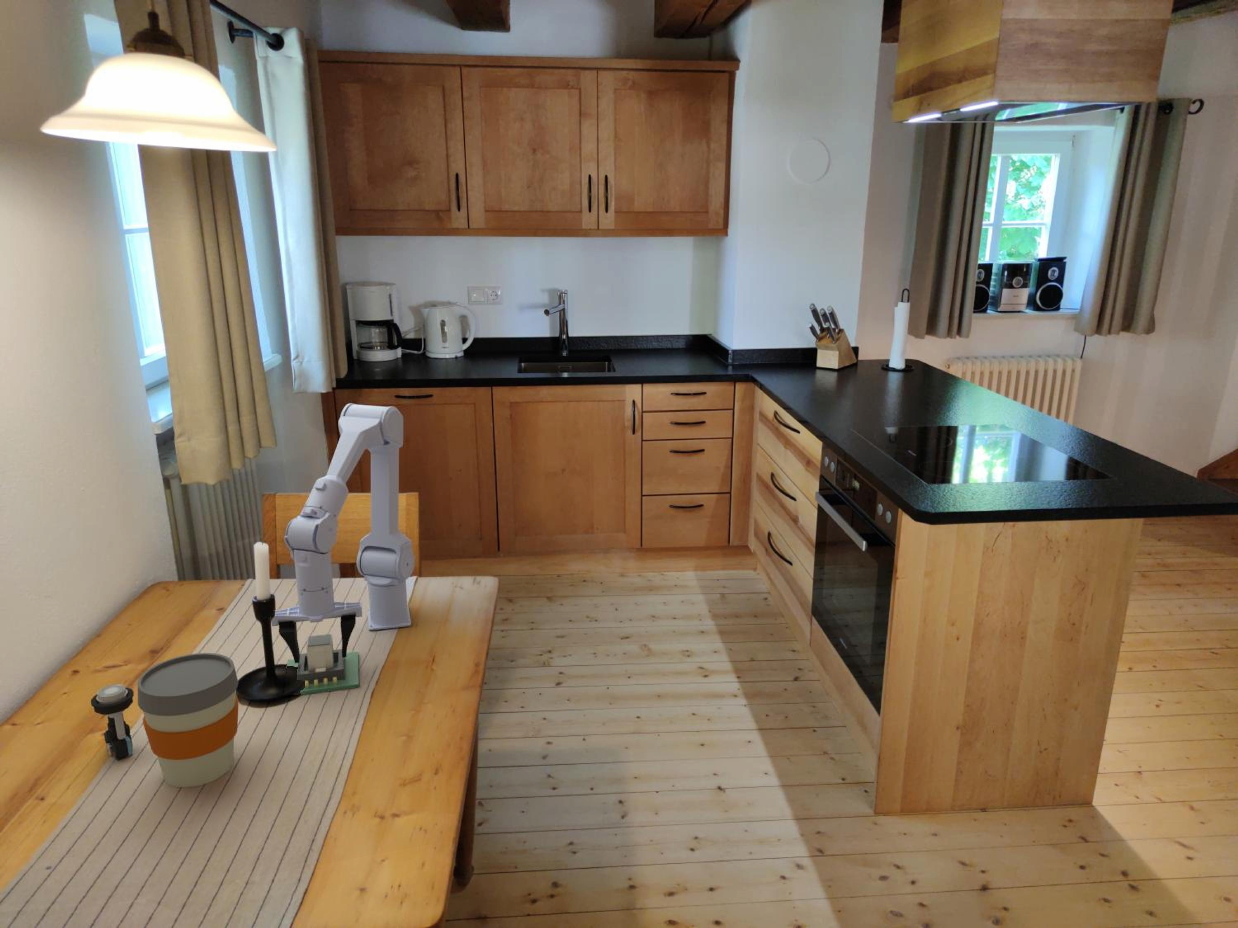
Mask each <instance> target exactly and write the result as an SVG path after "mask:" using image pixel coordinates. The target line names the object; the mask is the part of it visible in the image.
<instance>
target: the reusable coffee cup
mask: <svg viewBox="0 0 1238 928" xmlns="http://www.w3.org/2000/svg"><path fill="white" fill-rule="evenodd" d="M238 685H239V679H238V675H237V672H236V667H235V663H234V660H232V659H231V658H230V657H228V656H227V655H223V654H220V653H216V652H215V653H213V652H211V653H210V652H201V653H200V652H199V653H189V654H185V655H179V656H176V657H173V658H169V659H167V660H163V661H160V662H159V663H157V664H154V665H153V666H152V667H150V668H148V669H147V670H146V671H144V672H143V673H142V674H141V675H140V677H139V678H138V680H137V706H138V707H139V709H140V710H142V712H143V713H142V714H143V718H142V724H143V728H144V731H145V734H146V737H147V739H148V743H149V747H150V749H151V752H152V754H154V755H155V756H156V757H157V760H158V763H159V767H160V770H161V772H162V774H163V778H164V780H165V782H166V783H167V784H168V785H170V786H173V787H177V788H193V787H199V786H203V785H206V784H208V783H211V782H213V781H216V780H218V779H220V778H221V777H222V776H224V775H225V774H226V773H228V772H229V771H230V769H231V768H232V766H233V763H234V753H235V752H234V749H235V747H234V745H235V736H236V734H237V733H238V725H239V722H238V721H239V698H238V696H237V695H236V691H237V688H238Z"/></svg>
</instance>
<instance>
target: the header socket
mask: <svg viewBox="0 0 1238 928" xmlns="http://www.w3.org/2000/svg"><path fill="white" fill-rule="evenodd" d="M333 654H334V668H326V667H325V668H317V669H316V670H310V671H308V659H307V652H306V653H305V652H303V653H300V661H299V663H295V661H294V658H293V659H288V660H287V665H286V667H287V666H294V667H298V669H297V680H302V681H305V688H304V689H303V690H301V691H300V693H301V695H300V696H303V695H310V694H311V695H312V694H319V693H327V692H334V691H342V690H350V689H356V688H359V687H360V686H359V685H360V684H359V681H360V679H359V677H360V675H359V652H358V651H353V652H347V656H346V657H344V658H342V648H337V649H333Z"/></svg>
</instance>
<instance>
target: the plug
mask: <svg viewBox="0 0 1238 928" xmlns="http://www.w3.org/2000/svg"><path fill="white" fill-rule="evenodd" d="M305 649H306V653H307V659H308V671H310V670H316V669H317V668H325V667H326V668H334V654H333V650H334V643H333V634H331V633H327V634H320V635H310V636H307V641H306V648H305Z"/></svg>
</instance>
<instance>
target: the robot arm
mask: <svg viewBox="0 0 1238 928" xmlns="http://www.w3.org/2000/svg"><path fill="white" fill-rule="evenodd" d="M337 425H338V432H339V435H340V437H339V440H338V443H337V445H336V448H335V450H334V454H333V456H332V459H331V461H330V464H329V467H328V470H327V471H326V475H325V476H323V477H319V478H318V479H316V481H315V482H314V485H313V487H312V489H311V492H310V494H309V496H308V498H307V500H306V501H305V504H304V506H303V507H302V510H301V512H300V514H299V515H297V516H296V517H295V518H292V519H291V520H289V522H288V524H287V525H286V526H287V527H286V529H285V536H284V537H283V539H284V544H285V546H286V547H287V548H288V550H289V553H290V558H291V559H292V560H293V561H294V569H295V580H296V589H297V591H296V592H297V600H298V601H297V602H298V605H296V606H292V607H287V608H284V609H279V610H274V611H275V617H274V618H273V619H272V621H271V620H270V621H271V622H270V623H271V627H277V626H278V633H279V635H280V637H281V638H282V639H283V641H284V642H285V643H286V645H287V646H288V648H289V650H290V653H291V656H292V658H293V659H294V661H295V663H299V661H300V654H301V653H300V647H299V646H300V645H299V642H298V641H299V640H298V628H297V623H300V622H301V623H302V622H309V623H311V624H312V623H321V622H323V621H324V620H329V619H338V618H340V623H339V624H340V632H341V633H340V634H341V649H342V658H344V657H346V656H347V653H348V652H347V650H348V645H349V642H350V638H351V636H352V633H353V631H354V629H355V626H356V624H357V621H356V620H357V619H356V618H362V617H363V607H362V606H363V605H362V601H359V602H355V601H354V602H347V601H344V602H343V601H335V594H334V584H333V583H334V582H333V570H332V558H331V550H332V548H333V547H334V545H335V543H336V541H337V536H338V526H339V520H338V518H339V515H340V513H341V511H342V509H343V506H344V505H345V502H346V500H347V498H348V495H349V489H348V487H347V482H348V480H349V479H350V477H351V475H352V473H353V471H354V469H355V467H356V466H357V464H358V462H359V461H360V459H361V457H362V456H363V454H364V452H365V450H368V451H369V452H370V532H369V533H368V534H366V535H365V536H363V537H362V538H361V539H360V541H359V548H358V549H359V550H358V553H357V556H356V567H357V570H358V573H359V575H361V576H363V579H364V580H363V581H364V582H365V581H366V582H367V587H368V591H367V592H368V602H369V608H368V609H367V613H368V614H367V619H368V620H367V621H368V623H367V624H368V631H379V630H386V629H387V630H389V629H395V628H403V627H405V628H406V627H411V626H412V621H411V613H410V607H409V605H408V594H407V591H408V590H407V580H408V579H409V578H410V576H411V575H412V573H413V571H414V568H415V563H416V561H415V560H416V559H415V555H414V552H413V545H412V544H413V542H412V540H411V539H410V538H409V537H408V536H406V535H405V534H404V533H403V532H401V530H400V529H399V506H400V505H399V503H400V501H399V499H400V498H399V497H400V495H399V494H400V491H399V490H400V489H399V488H400V487H399V486H400V485H399V483H400V481H399V479H400V478H399V477H400V469H399V468H400V465H399V464H400V459H399V458H400V454H399V453H400V448H402V447H403V445H404V416H403V415H402V412H400V410H399V409H398V408H397V407H396V406H393V405H392V406H384V405H383V406H382V405H381V406H380V405H369V404H367V405H366V404H356V403H352V402H351V403H347V404H346V405H345V406H343V409H342V411H341V413H340V417H339V419H338V424H337Z"/></svg>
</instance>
